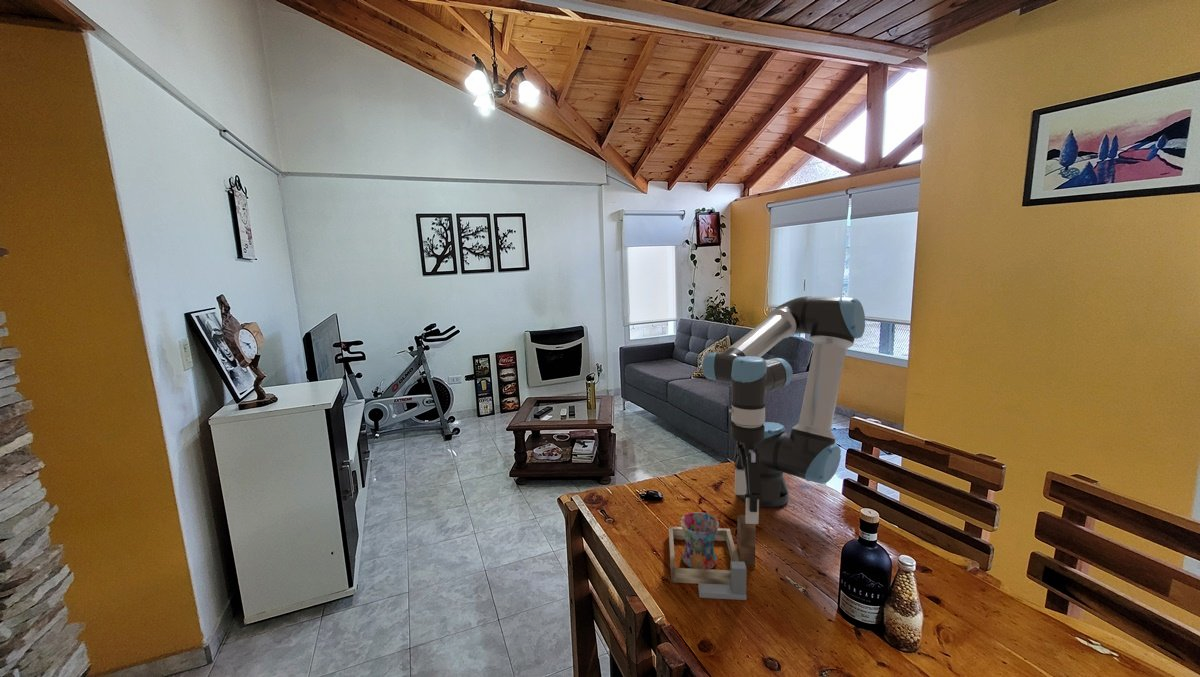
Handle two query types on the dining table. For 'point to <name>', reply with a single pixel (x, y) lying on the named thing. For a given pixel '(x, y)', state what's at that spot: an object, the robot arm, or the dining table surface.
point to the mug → (699, 540)
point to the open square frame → (741, 554)
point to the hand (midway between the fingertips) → (745, 507)
